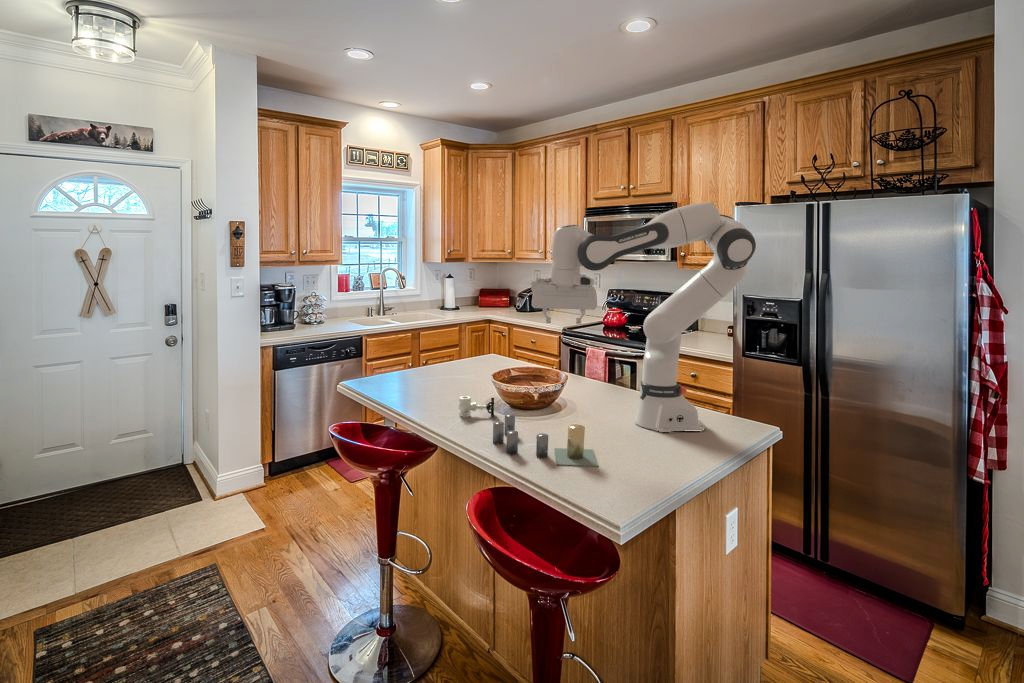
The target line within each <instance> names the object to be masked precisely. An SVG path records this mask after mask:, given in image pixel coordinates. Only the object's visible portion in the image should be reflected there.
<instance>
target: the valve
mask: <svg viewBox="0 0 1024 683" xmlns="http://www.w3.org/2000/svg"><path fill="white" fill-rule="evenodd" d="M458 400H459V401H458V402H459V404H458V410H459V411H458V412H459V414H458V416H459V415H460V416H459V417H461V416H462V417H461V418H469V417H471V411H472V412H476V410H480V411H482V410H484V409H486V411H487V413H488V414H490V417H494V416H495V397H491V399H490V401H489V402H488V403H487V404H486V405H484V404H482V403H480V404H477V403H476V402H471V401H472V399H471V396H467V395H466V396H465V395H462V396H460V397H459V399H458ZM468 416H469V417H468Z"/></svg>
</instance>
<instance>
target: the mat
mask: <svg viewBox="0 0 1024 683" xmlns="http://www.w3.org/2000/svg"><path fill="white" fill-rule="evenodd" d="M554 450H555V451H554ZM553 451H554V456H555V457H556V458H555V464H557V465H556V466H562V465H568V466H569V465H570V466H569V467H591V466H592V467H593V466H595V467H596V468H597V467H599V464H598V461H597V458H596V455H595V452H594V449H591V448H590V449H588V448H584V454H583V458H582V459H579V460H574V459H570V458H568V457H567V448H562V447H561V448H560V447H559V448H558V447H555V448H553ZM593 468H594V467H593Z"/></svg>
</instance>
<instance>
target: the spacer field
mask: <svg viewBox="0 0 1024 683" xmlns="http://www.w3.org/2000/svg"><path fill="white" fill-rule="evenodd" d="M505 436H506V443H505V444H506V447H505V448H506V451H505V453H506V454H507V455H509V454H510V456H514V455H515V454H516V455H518V454H517V453H518V450H519V432H518V431H517V430H516V414H513V413H506V414H504V422H503V421H501V420H499V421H498V420H497V421H494V422H493V423H492V444H493V445H497V444H500V445H503V444H504V439H505V438H504V437H505ZM535 447H536V449H535V450H536V451H535V452H536V453H535V457H536V456H537V457H536V458H538V457H539V458H538V459H547V458H548V454H549V434H547V433H544V432H543V433H537V434H536V446H535ZM516 455H515V456H516ZM546 457H547V458H546Z"/></svg>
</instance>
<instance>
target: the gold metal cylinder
mask: <svg viewBox="0 0 1024 683" xmlns="http://www.w3.org/2000/svg"><path fill="white" fill-rule="evenodd" d="M585 430H586V428H585V425H581V424H575V423H574V424H569V425H568V427H567V444H566V446H567V448H566V449H567V457H568V458H570V459H574V460H579V459H582V458H583V454H584V449H585Z"/></svg>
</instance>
